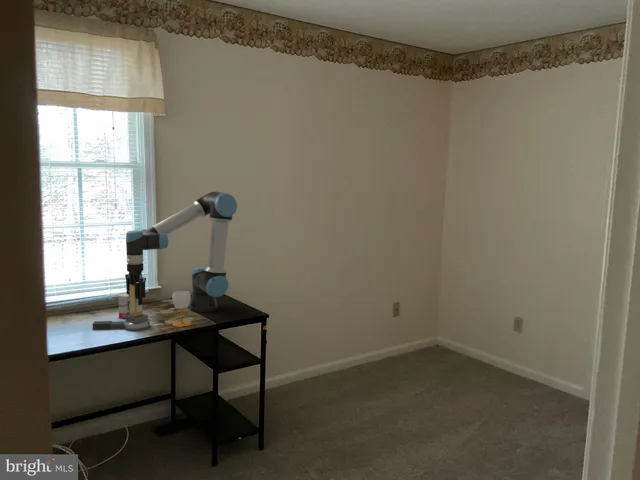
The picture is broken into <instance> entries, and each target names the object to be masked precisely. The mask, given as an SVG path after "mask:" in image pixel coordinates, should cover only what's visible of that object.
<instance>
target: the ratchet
mask: <svg viewBox="0 0 640 480" xmlns="http://www.w3.org/2000/svg"><path fill="white" fill-rule="evenodd" d="M148 316H149V315H148V314H146V313H142V316H140V317H136V318H135V317H132V316H130V315H126V318H125V320H123V321H121V320H120V321H118V320H117V321H113V320H98V321H97V320H95V321H93V322H92V325H91V326H92V331H95V330H96V331H97V330H99V331H100V330H101V331H102V330H103V331H104V330H124V331H127V332H141V331H146V330H147V329H149V328H150V327H151V320H150V319H149V318H148Z"/></svg>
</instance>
